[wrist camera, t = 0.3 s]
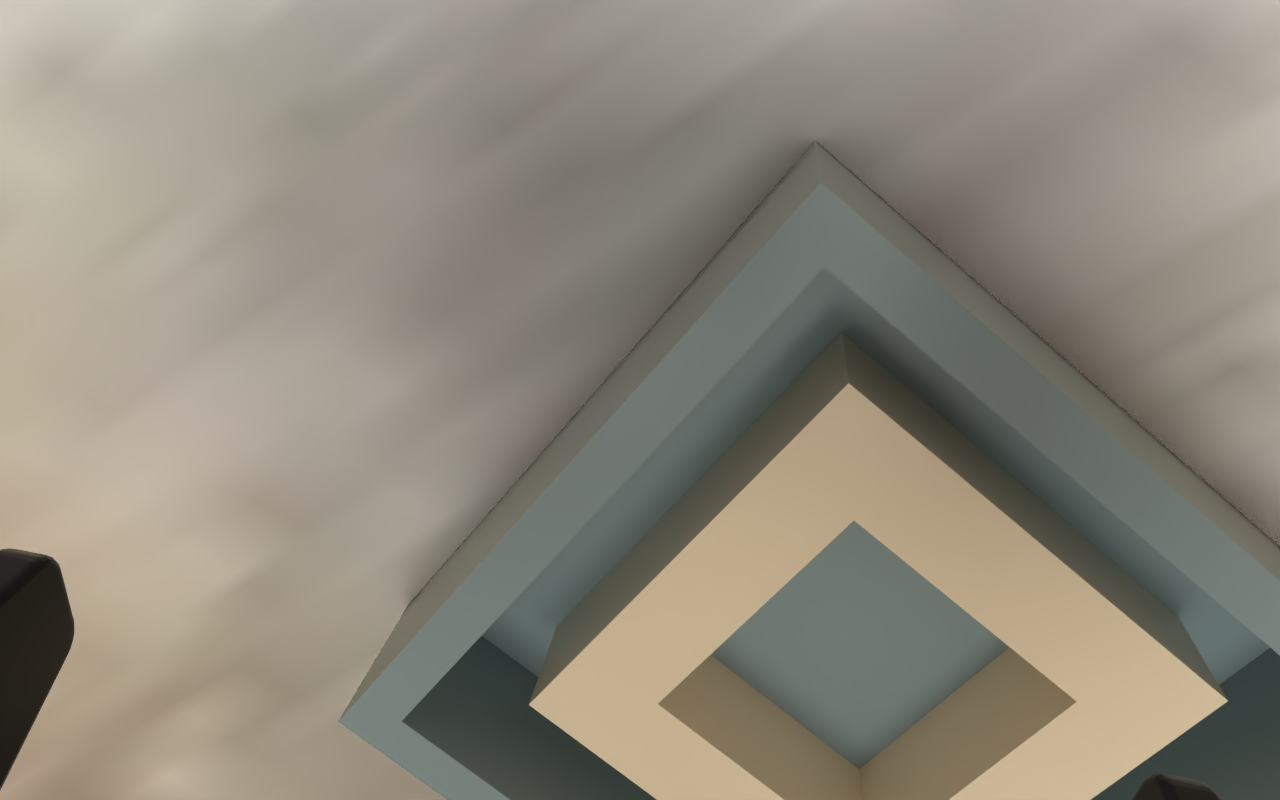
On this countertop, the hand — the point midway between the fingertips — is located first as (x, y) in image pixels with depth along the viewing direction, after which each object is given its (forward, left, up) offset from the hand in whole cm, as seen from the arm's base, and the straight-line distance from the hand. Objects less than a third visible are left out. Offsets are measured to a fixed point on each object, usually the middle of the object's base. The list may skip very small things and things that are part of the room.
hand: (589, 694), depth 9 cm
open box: (-4, -8, -15) cm, 18 cm away
